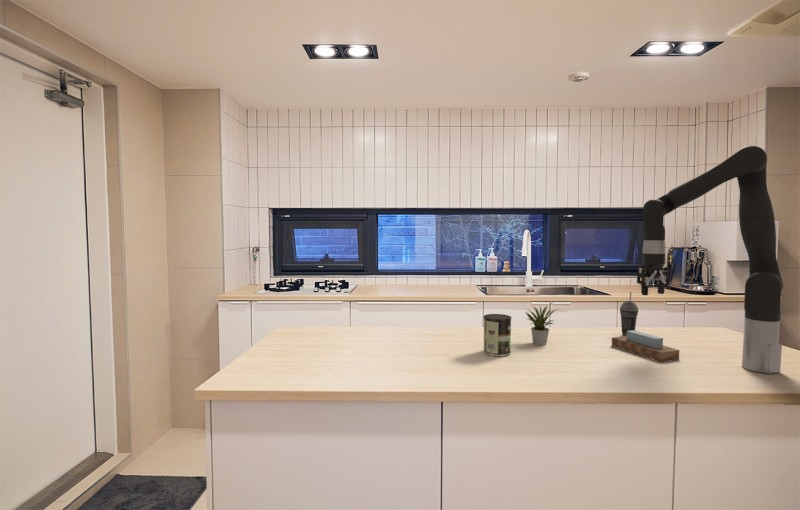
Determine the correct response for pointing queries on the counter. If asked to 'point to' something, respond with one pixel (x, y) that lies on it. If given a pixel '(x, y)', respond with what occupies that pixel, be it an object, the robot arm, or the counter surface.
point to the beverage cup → (628, 316)
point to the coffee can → (497, 335)
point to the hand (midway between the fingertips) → (652, 294)
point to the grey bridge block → (644, 339)
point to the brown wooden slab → (646, 349)
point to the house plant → (540, 326)
